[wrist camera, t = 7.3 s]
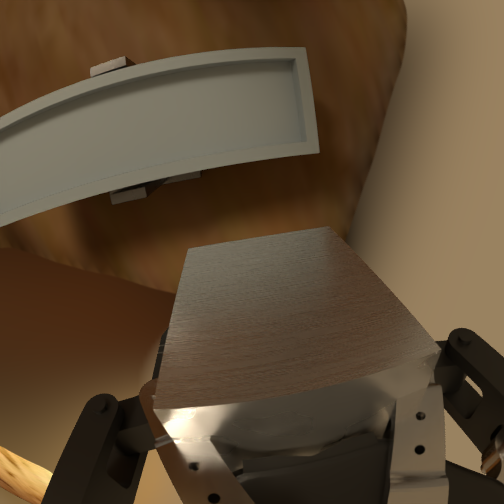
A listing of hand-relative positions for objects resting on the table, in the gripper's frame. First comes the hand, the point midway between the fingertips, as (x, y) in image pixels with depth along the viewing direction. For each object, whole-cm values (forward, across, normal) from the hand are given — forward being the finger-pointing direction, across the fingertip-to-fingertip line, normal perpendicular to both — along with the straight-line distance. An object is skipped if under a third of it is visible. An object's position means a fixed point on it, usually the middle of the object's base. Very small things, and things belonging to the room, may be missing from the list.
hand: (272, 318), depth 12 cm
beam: (+14, +9, -9) cm, 19 cm away
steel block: (+2, 0, 0) cm, 2 cm away
